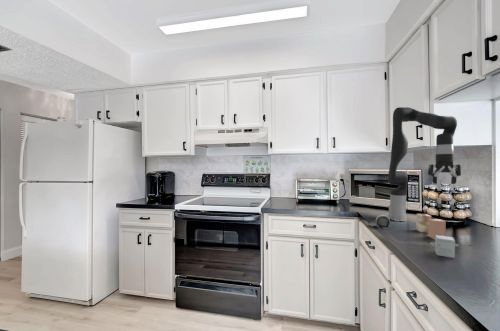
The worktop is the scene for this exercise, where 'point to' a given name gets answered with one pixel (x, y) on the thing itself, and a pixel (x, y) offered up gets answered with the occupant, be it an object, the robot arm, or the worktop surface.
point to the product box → (445, 246)
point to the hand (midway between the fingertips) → (444, 183)
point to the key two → (436, 228)
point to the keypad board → (434, 243)
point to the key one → (422, 222)
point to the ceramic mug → (381, 221)
